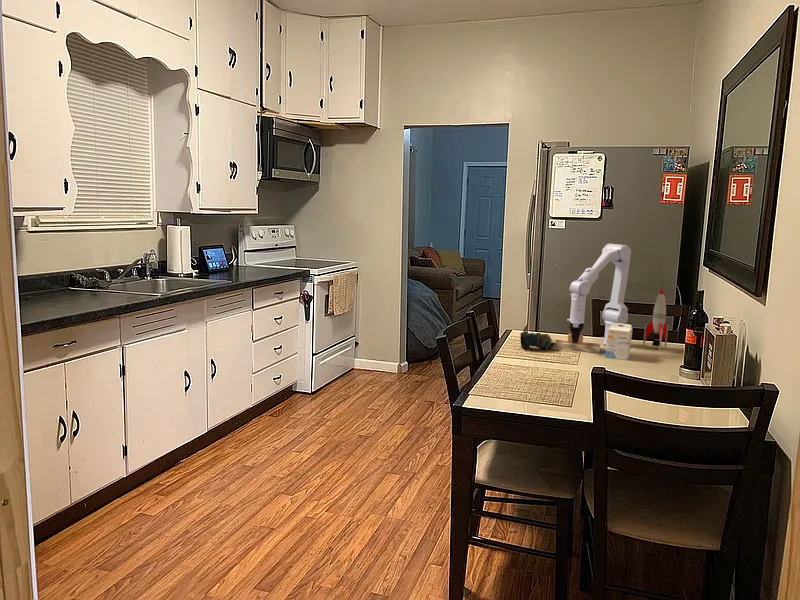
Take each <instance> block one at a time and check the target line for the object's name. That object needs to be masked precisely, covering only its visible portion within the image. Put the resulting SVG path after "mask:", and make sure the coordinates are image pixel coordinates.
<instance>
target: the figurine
mask: <svg viewBox="0 0 800 600" xmlns="http://www.w3.org/2000/svg"><path fill="white" fill-rule="evenodd" d="M519 335H520V336H519V337H520V341H519V342H520V346H521V348H522V349H524V350H525V351H529V350H531V349H530V348H533V347H535V348H539V349H548V350H549V349H550V350H551V349H553V348H552V347H553V346H554V344H555V343H554V342H552V339H553V338H551V335H550V334H548V333H541V332H536V333H534V332H530V333H529V332H528V330H524V331H522V332H520V334H519Z"/></svg>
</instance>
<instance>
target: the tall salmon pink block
mask: <svg viewBox="0 0 800 600" xmlns="http://www.w3.org/2000/svg"><path fill="white" fill-rule="evenodd" d="M567 340H568V342H569V343H572V334H571V333H568V336H567ZM583 342H584V334H580V336H579V340H578V343H579V344H582V343H583Z"/></svg>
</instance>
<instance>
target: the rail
mask: <svg viewBox="0 0 800 600" xmlns="http://www.w3.org/2000/svg"><path fill="white" fill-rule="evenodd" d="M551 339H552V342H554V343H555V344H554V346H553V347H552V348H551V349H555V350H564V349H565V350H567V351H577V352H583V353H584V352H585V353H593V354H595V353H597V354H600V352H601V343H597V342H585V341H583V343H582V344H579V343H577V342H572V343H569V342H568V339H558V338H557V339H556V338H555V339H554V338H551Z"/></svg>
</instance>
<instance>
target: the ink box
mask: <svg viewBox="0 0 800 600" xmlns="http://www.w3.org/2000/svg"><path fill="white" fill-rule="evenodd" d="M618 325H623V326H624V327H620V326H618ZM632 335H633V328H632V324H628V323H625V324H621V323H614V322H612V323H611V326H610V327H609V328H608V333H607V343H606V345H605V352H604V353H605V355H604V357H605V358H611V359H617V360H624V361H625V360H626V361H627V360H628V359H629V358H630V354H631V346H632V345H631V344H632V337H633V336H632Z"/></svg>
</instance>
